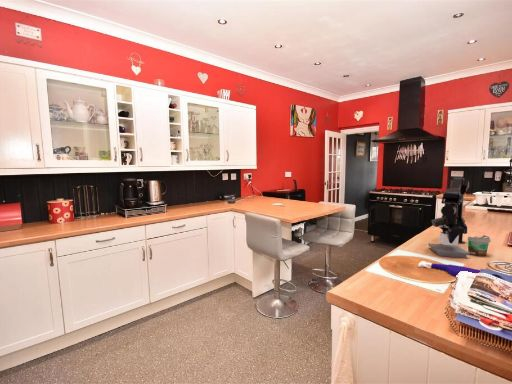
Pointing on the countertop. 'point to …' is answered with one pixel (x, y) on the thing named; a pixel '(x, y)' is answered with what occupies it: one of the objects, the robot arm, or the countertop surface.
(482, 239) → the food container
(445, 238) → the housing
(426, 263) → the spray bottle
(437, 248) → the stand
